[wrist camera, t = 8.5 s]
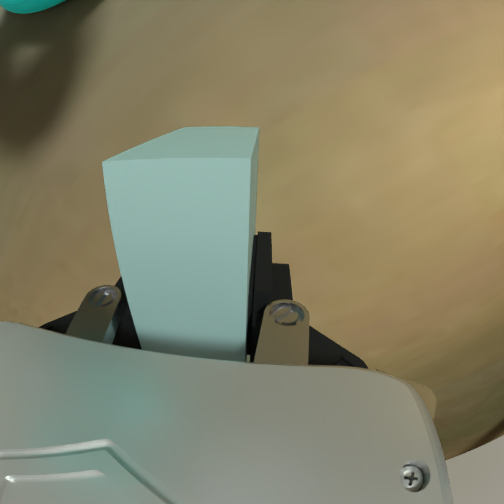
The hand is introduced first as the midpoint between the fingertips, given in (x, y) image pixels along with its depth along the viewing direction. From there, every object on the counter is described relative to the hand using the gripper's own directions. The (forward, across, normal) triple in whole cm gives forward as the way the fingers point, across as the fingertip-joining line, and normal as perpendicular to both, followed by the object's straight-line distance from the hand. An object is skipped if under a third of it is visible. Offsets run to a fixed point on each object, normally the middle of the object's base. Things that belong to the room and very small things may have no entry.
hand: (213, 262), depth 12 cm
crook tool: (+2, -4, +6) cm, 7 cm away
